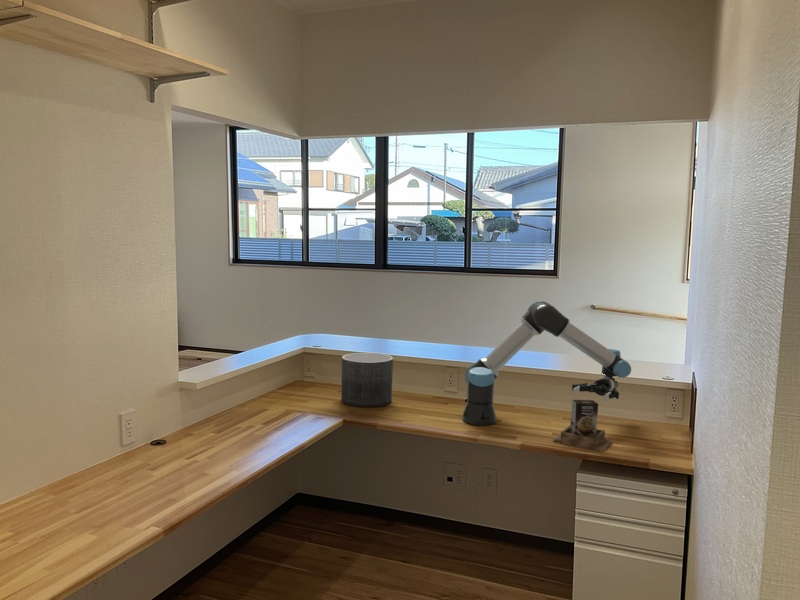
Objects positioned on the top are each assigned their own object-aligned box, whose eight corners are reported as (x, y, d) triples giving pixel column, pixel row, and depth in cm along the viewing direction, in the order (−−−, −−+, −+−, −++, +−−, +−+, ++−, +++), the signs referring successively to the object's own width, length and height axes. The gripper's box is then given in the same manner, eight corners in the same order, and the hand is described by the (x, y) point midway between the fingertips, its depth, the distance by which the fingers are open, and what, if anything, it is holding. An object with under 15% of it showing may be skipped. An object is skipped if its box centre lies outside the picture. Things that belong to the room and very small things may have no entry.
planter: (397, 397, 312) (398, 354, 310) (383, 409, 288) (384, 364, 285) (351, 392, 319) (352, 351, 316) (333, 404, 294) (334, 359, 292)
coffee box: (574, 442, 246) (576, 403, 244) (569, 436, 252) (571, 399, 250) (596, 442, 246) (598, 403, 244) (590, 437, 252) (593, 399, 251)
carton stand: (553, 441, 249) (553, 430, 248) (564, 433, 260) (564, 422, 260) (602, 452, 238) (603, 440, 237) (611, 442, 249) (612, 432, 249)
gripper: (631, 399, 269) (618, 409, 252) (575, 389, 283) (560, 397, 265) (632, 382, 269) (620, 391, 251) (577, 373, 282) (561, 381, 265)
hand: (589, 394), depth 258 cm, fingers open, 13 cm apart
